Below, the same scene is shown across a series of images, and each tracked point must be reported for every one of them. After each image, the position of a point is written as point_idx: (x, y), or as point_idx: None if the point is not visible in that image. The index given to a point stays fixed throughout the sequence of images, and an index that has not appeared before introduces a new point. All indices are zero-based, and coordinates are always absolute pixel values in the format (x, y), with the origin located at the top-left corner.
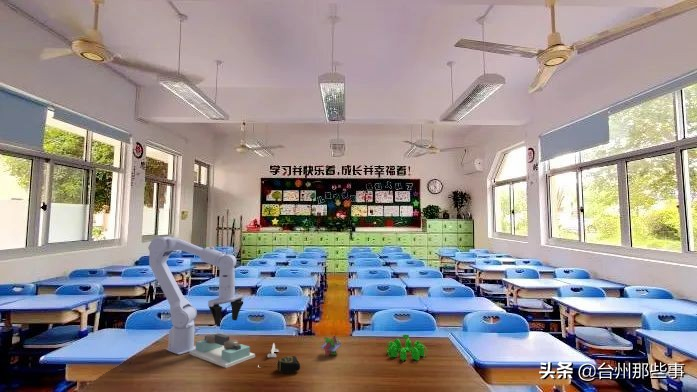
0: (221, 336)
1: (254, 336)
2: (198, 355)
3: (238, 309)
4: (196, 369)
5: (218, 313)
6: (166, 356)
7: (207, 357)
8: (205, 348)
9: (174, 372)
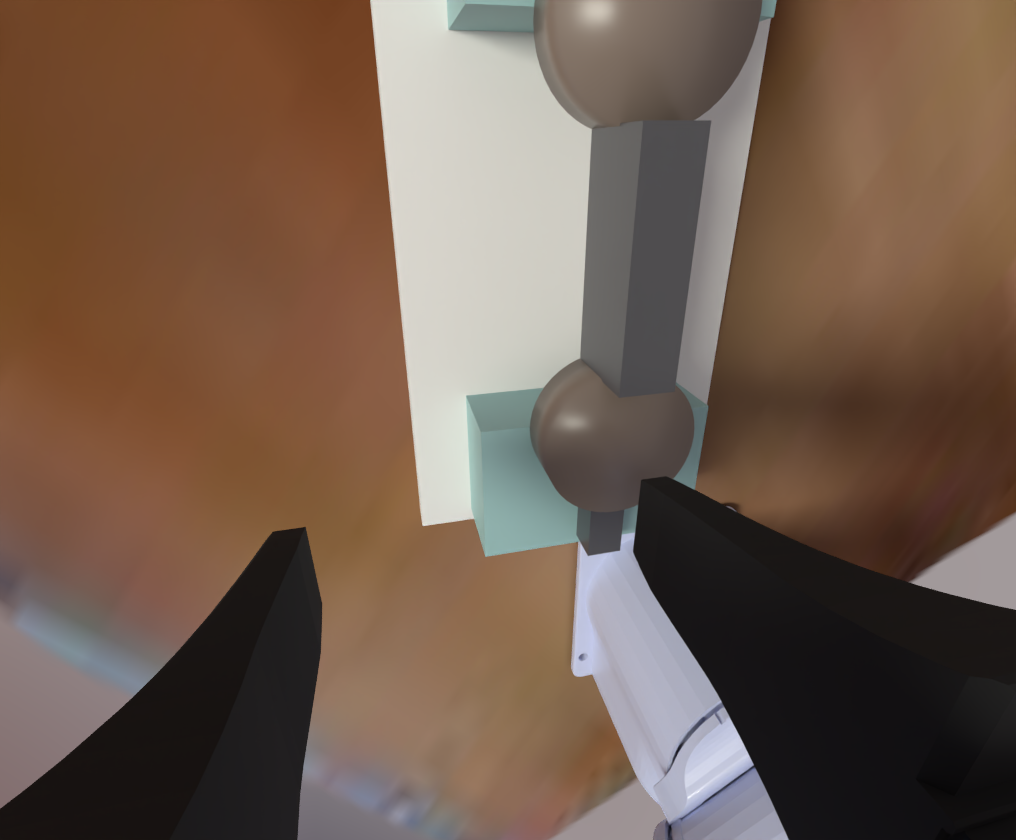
0: (694, 238)
1: None
2: (709, 362)
3: (195, 694)
4: (892, 100)
5: (862, 578)
6: None
7: (729, 229)
8: None
9: (975, 202)
